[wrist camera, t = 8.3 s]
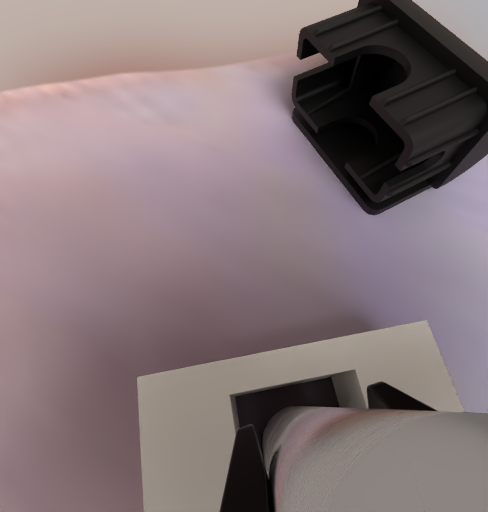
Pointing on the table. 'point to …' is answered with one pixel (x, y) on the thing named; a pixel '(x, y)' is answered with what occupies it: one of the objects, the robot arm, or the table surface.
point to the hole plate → (259, 379)
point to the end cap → (391, 101)
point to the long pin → (376, 460)
